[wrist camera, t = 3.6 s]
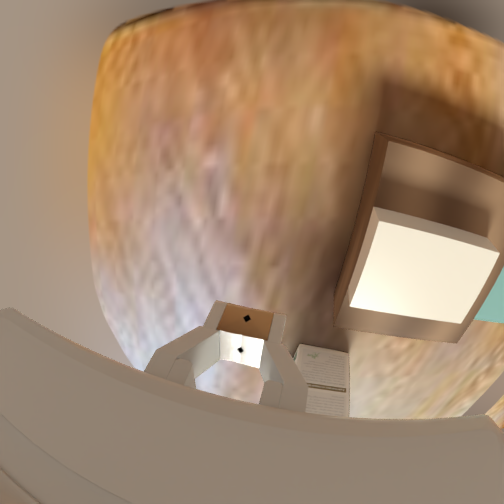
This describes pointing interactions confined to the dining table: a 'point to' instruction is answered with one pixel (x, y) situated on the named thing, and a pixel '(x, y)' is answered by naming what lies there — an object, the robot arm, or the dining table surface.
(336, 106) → the dining table surface
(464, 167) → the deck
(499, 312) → the mat
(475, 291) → the cream rectangular block
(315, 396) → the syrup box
